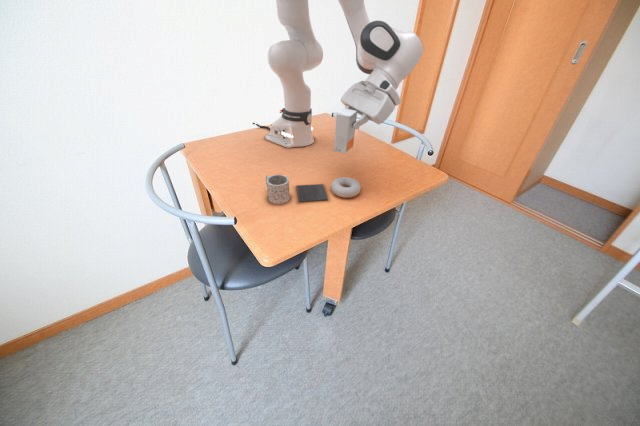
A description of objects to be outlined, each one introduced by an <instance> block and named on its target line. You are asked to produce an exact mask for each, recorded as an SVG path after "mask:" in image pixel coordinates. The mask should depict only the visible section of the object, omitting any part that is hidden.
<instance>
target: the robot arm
mask: <svg viewBox="0 0 640 426" xmlns="http://www.w3.org/2000/svg"><path fill="white" fill-rule="evenodd" d="M337 2H338V3H339V5H340V7H341V9H342V12H343V14H344V17H345V19H346V22H347V25H348V28H349V30H350V33H351V36H352V39H353V41H354V45H355V62H356V65H357V68H358V69H359V70H360V71H361V72H362V73H364V74H366V75H368V76H367V77H366V79H365V80H361V81H358V82H356V83H354V84H352V85H351V86H350V87H349V88H348V89H347V90H346V91H345V92H344V94H342V96H341V97H340V102H341V104H343V105H344V109H350V110H355V111H357V115H360V118H359V119H356V121H354V122H353V123H352V127H353V128H355V131H356V130H358V129H359V128H360V127H361V126H363V125H364V124H365V125H366V124H367V123H368V122H369V121H371V122H374V123H375V124H377V125H381V124H383V123H384V122H385V121H387V119H388V118H389V117H390V116H391V114H392V113H393V112H394V110H395V109H396V107H397V106H399V105H400V104H401V103H402V98H401V97H400V95H399V93H398V92H397V89H398V88H399V86H400V84H401V82H403V81H404V80H405V79H407V77H408V76H409V75H410V74H411V73H412V71H414V69H415V68H416V67H417V65H418V64H419V62H420V61H421V60H422V57H423V54H424V46H423V43H422V40H421V39H420V36H418V34H416V33H415V32H414V31H409V30H408V31H402V30H399V29H396V28H394V27H393V26H390V24H388V23H387V22H386V21H384V20H373V21H370V19H369V16H368V13H367V10H366V5H365V0H337ZM275 3H276V12H277V13H276V14H277V18H278V21H279V23H280V25H282V26H283V27H284V29H285V31H286V32H287V34H288V38H289V40H280V41H278V42H276V43H274V44H272V45H271V46H270V47H269V49H268V50H267V51H268V52H267V64H268V65H269V68H270V69H271V71H272V72H273V73H274V74H276V76H277V77H278V79H279V81H280V83H281V86H282V90H283V100H284V101H283V103H284V107H282V109H280V110H279V114H281V116H280V117H278V118H277V119H276V120H275V121H273V122H272V123H271V124H270V127H269V126H266V125H260V124H258V123H257V124H255V123H254V122H252V125H255V126H257V127H258V128H262V129H267V130H268V131H269V133H267V134H266V135H265V140H267V141H268V142H272V143H273V144H277V145H279V146H282V147H284V148H287V149H291V148H298V147H306V146H310V145H312V144H313V143H314V142H315V139H314V134H313V130H314V128H313V127H312V121H313V110H312V89H311V88H310V86H309V85H308V84H307V83H306V82H305V78H304V72H308V71H309V72H310V71H312V70H314V69H315V68H318V67H319V66H320V65H321V64H322V62H323V59H324V51H323V47H322V45H321V44H320V42H319V41H318V40H317V38H316V36H315V33H314V30H313V27H312V22H311V18H310V10H309V9H310V7H309V0H275Z"/></svg>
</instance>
